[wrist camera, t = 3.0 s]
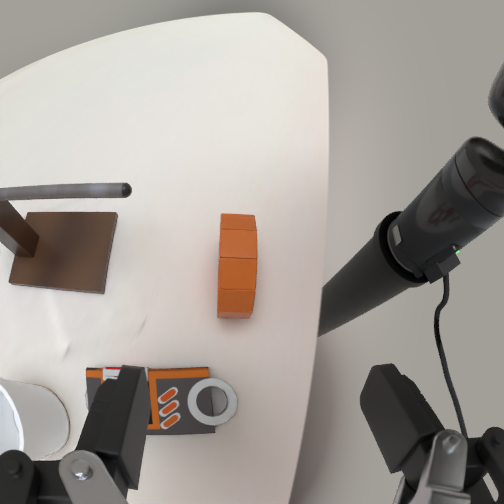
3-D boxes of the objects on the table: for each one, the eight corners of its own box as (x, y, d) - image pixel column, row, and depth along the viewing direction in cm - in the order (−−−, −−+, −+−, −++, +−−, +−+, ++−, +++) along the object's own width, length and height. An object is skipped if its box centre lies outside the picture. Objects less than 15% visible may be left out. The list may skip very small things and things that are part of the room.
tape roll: (245, 242, 36) (256, 195, 27) (245, 325, 32) (258, 301, 23) (219, 241, 35) (222, 193, 27) (216, 324, 32) (218, 300, 23)
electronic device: (241, 430, 25) (86, 431, 22) (237, 426, 28) (95, 428, 25) (233, 362, 28) (81, 365, 25) (230, 364, 30) (90, 367, 28)
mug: (56, 372, 27) (3, 362, 17) (86, 448, 24) (40, 466, 14) (-6, 393, 24) (-61, 387, 14) (19, 462, 21) (-33, 475, 11)
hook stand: (11, 284, 30) (-56, 234, 17) (30, 215, 34) (-20, 150, 21) (151, 297, 32) (114, 239, 19) (161, 216, 36) (141, 132, 23)
